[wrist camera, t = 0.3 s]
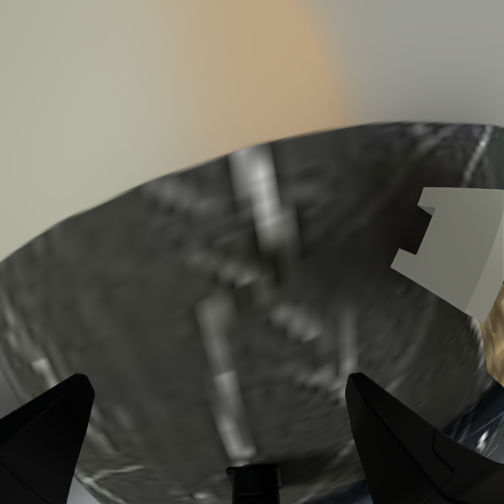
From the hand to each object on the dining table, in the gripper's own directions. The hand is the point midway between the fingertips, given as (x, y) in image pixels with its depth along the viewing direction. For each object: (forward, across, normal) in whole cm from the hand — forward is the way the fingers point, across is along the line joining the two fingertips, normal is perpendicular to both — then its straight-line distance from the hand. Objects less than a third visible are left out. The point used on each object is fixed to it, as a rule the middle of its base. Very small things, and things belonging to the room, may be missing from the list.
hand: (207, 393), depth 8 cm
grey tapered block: (+14, -16, -1) cm, 21 cm away
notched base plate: (+13, -28, +11) cm, 33 cm away
